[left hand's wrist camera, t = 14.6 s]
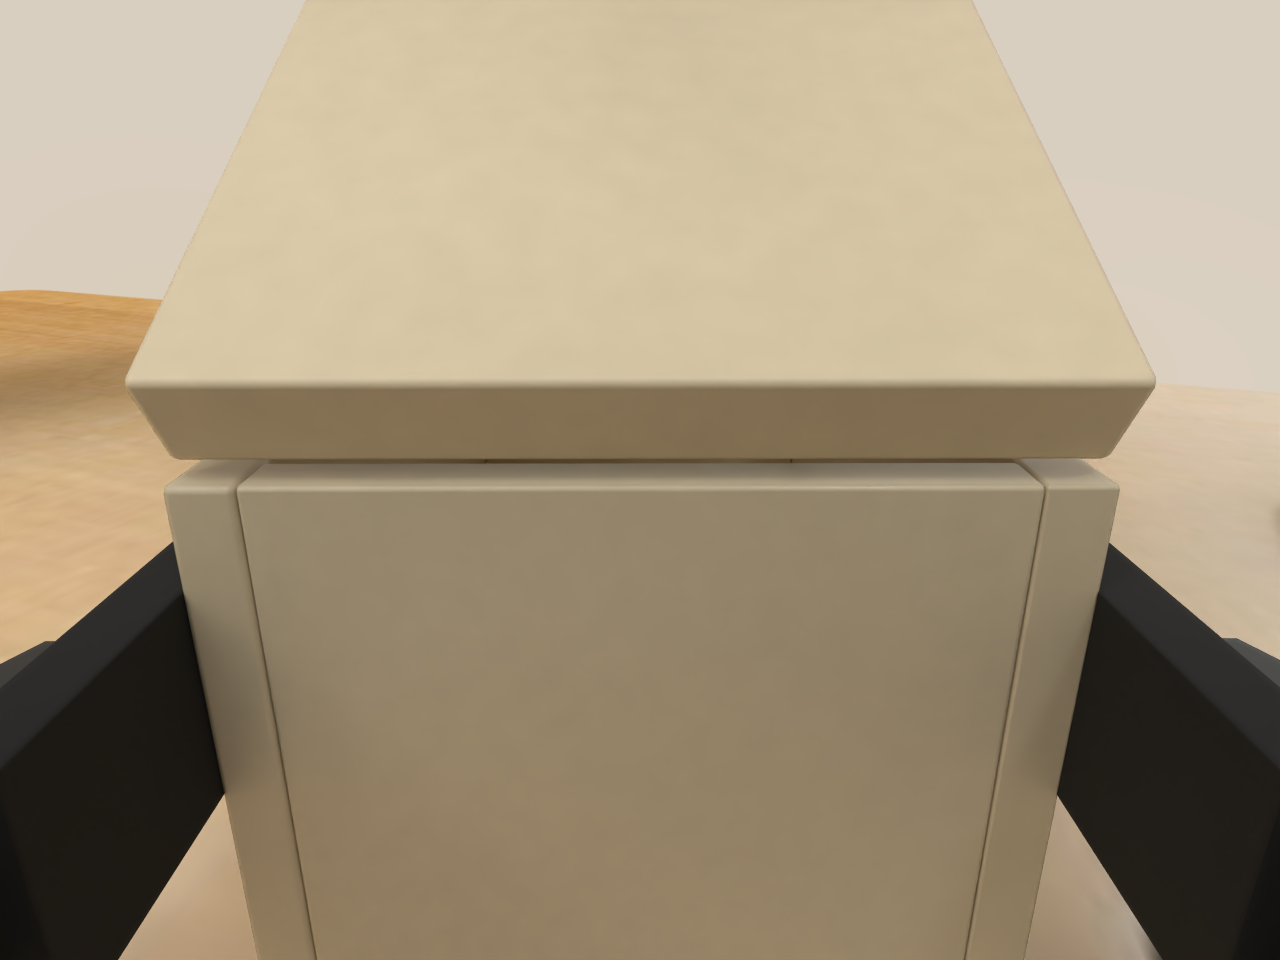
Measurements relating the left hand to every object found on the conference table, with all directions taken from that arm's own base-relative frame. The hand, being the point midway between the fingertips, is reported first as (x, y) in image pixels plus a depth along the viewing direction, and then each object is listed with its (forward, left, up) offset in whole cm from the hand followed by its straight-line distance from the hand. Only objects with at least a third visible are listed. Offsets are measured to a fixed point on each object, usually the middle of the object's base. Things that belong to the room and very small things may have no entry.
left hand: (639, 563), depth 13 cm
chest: (+3, -2, -7) cm, 8 cm away
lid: (+3, -2, +7) cm, 8 cm away
